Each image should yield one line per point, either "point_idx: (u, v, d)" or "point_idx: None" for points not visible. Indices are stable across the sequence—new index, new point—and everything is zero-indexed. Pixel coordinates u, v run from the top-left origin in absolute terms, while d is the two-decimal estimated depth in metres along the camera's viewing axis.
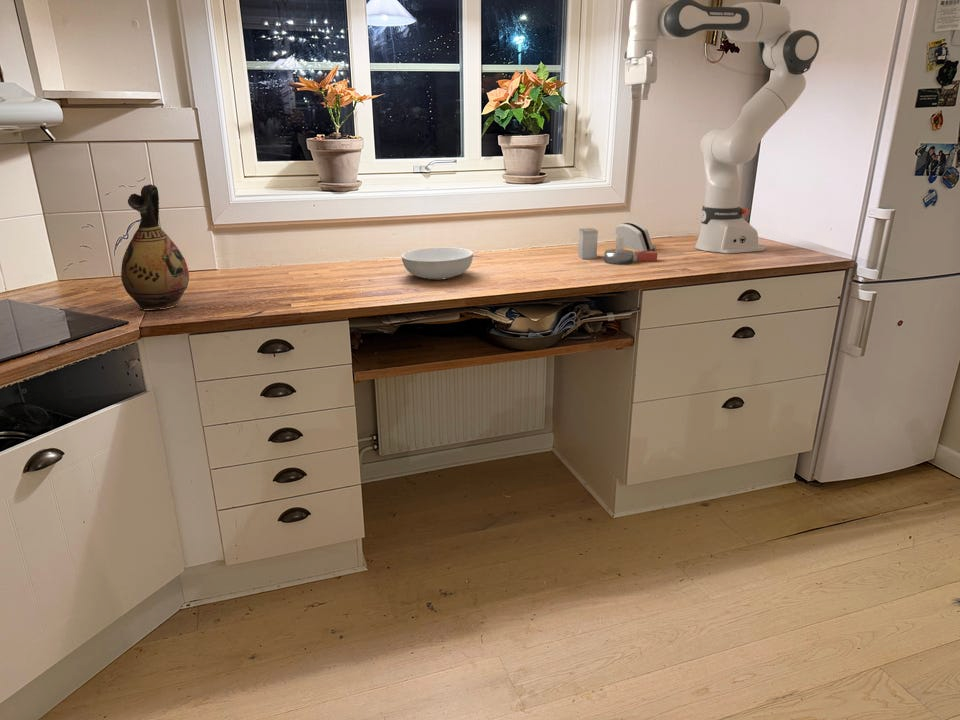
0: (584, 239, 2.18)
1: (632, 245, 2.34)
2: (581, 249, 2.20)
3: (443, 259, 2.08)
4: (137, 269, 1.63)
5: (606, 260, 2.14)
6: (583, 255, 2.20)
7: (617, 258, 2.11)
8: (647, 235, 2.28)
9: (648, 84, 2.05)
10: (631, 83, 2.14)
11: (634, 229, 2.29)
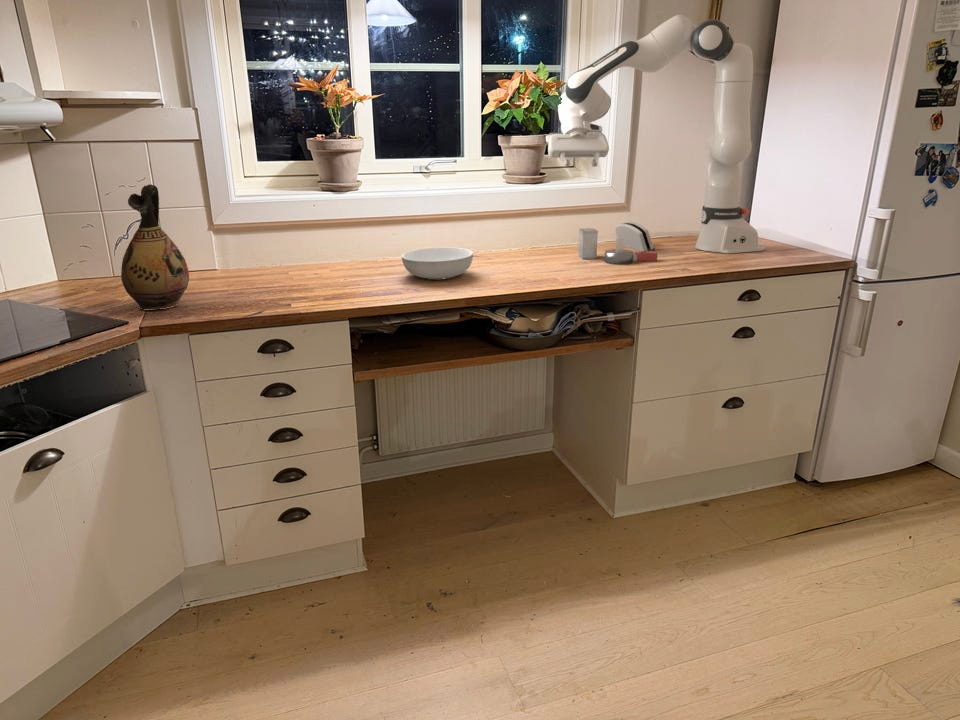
0: (584, 239, 2.18)
1: (632, 245, 2.34)
2: (581, 249, 2.20)
3: (443, 259, 2.08)
4: (137, 269, 1.63)
5: (606, 260, 2.14)
6: (583, 255, 2.20)
7: (617, 258, 2.11)
8: (647, 235, 2.28)
9: (560, 154, 2.25)
10: None
11: (634, 229, 2.29)
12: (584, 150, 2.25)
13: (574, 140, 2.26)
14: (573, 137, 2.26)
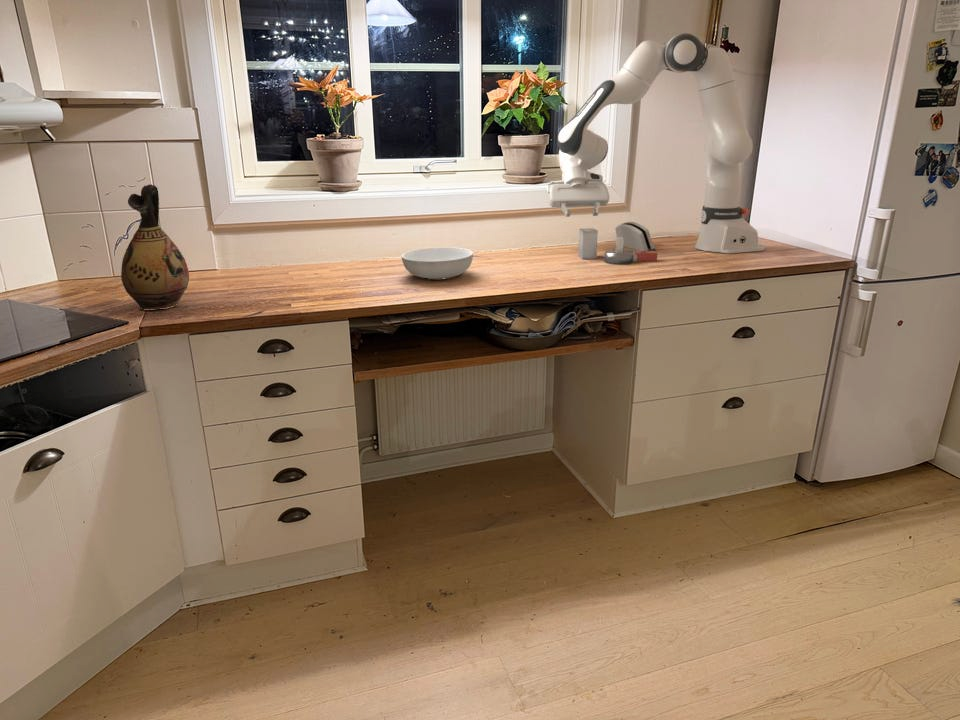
0: (584, 239, 2.18)
1: (633, 245, 2.34)
2: (581, 249, 2.20)
3: (443, 259, 2.08)
4: (137, 269, 1.63)
5: (606, 260, 2.14)
6: (583, 255, 2.20)
7: (617, 258, 2.11)
8: (648, 235, 2.28)
9: (561, 204, 2.27)
10: None
11: (635, 229, 2.29)
12: (585, 200, 2.27)
13: (575, 190, 2.28)
14: (574, 187, 2.29)
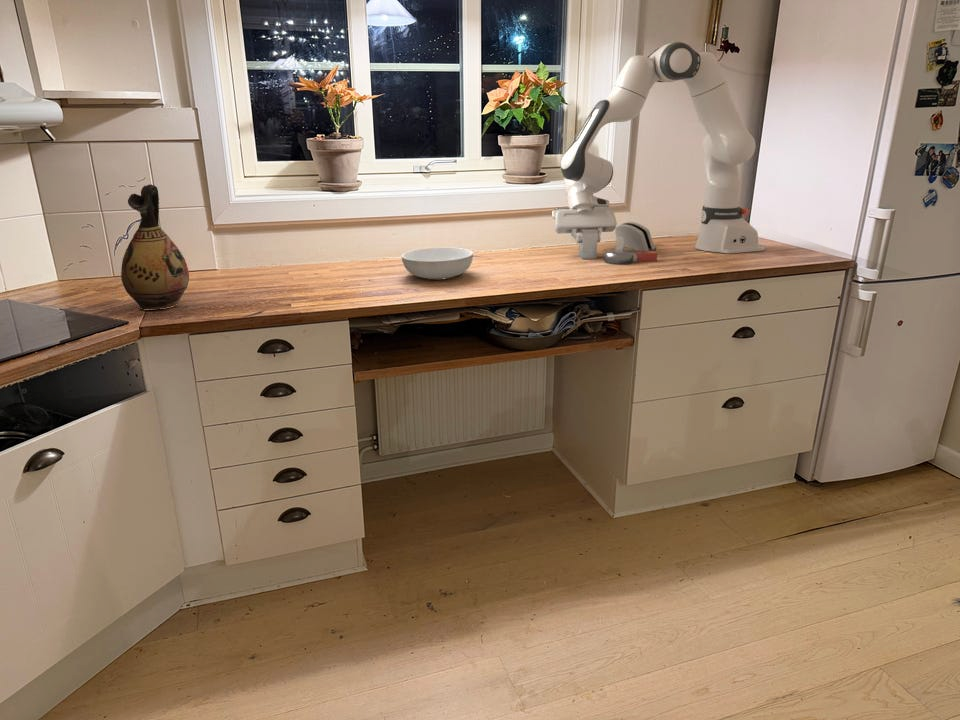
0: (584, 239, 2.18)
1: (633, 245, 2.34)
2: (581, 249, 2.20)
3: (443, 259, 2.08)
4: (137, 269, 1.63)
5: (606, 260, 2.14)
6: (583, 255, 2.20)
7: (617, 258, 2.11)
8: (649, 235, 2.28)
9: (572, 230, 2.21)
10: None
11: (635, 229, 2.28)
12: (591, 226, 2.21)
13: (581, 215, 2.22)
14: (580, 212, 2.23)
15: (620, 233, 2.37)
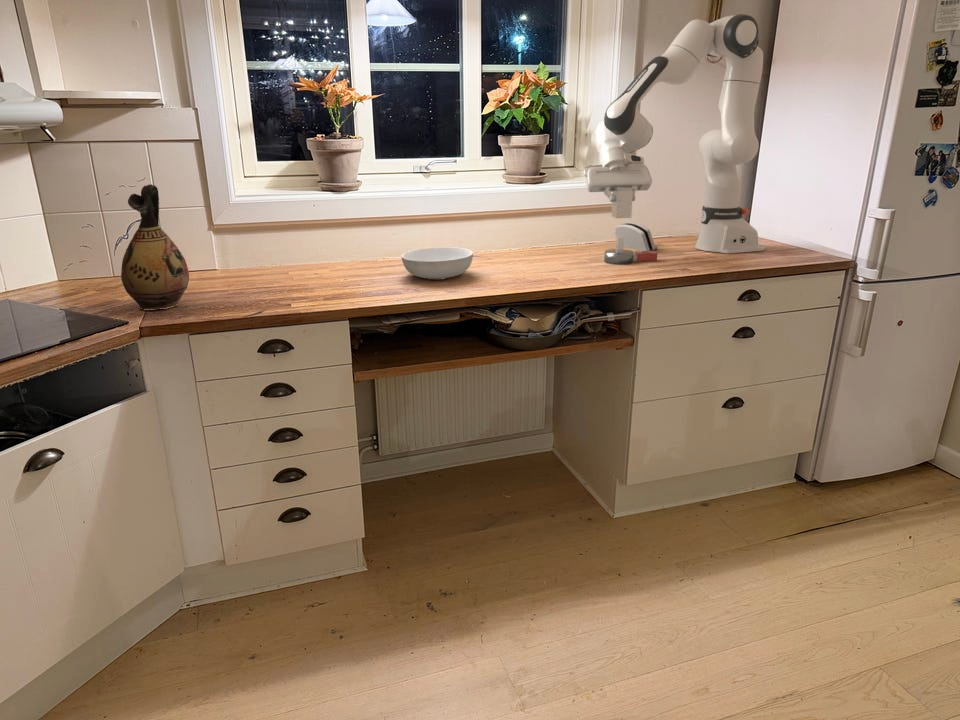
0: (618, 197, 2.06)
1: (633, 246, 2.34)
2: (615, 208, 2.09)
3: (443, 259, 2.08)
4: (137, 269, 1.63)
5: (606, 260, 2.14)
6: (617, 214, 2.08)
7: (617, 258, 2.11)
8: (650, 235, 2.28)
9: (605, 188, 2.10)
10: None
11: (636, 229, 2.28)
12: (625, 184, 2.09)
13: (614, 173, 2.11)
14: (613, 170, 2.11)
15: (620, 233, 2.37)
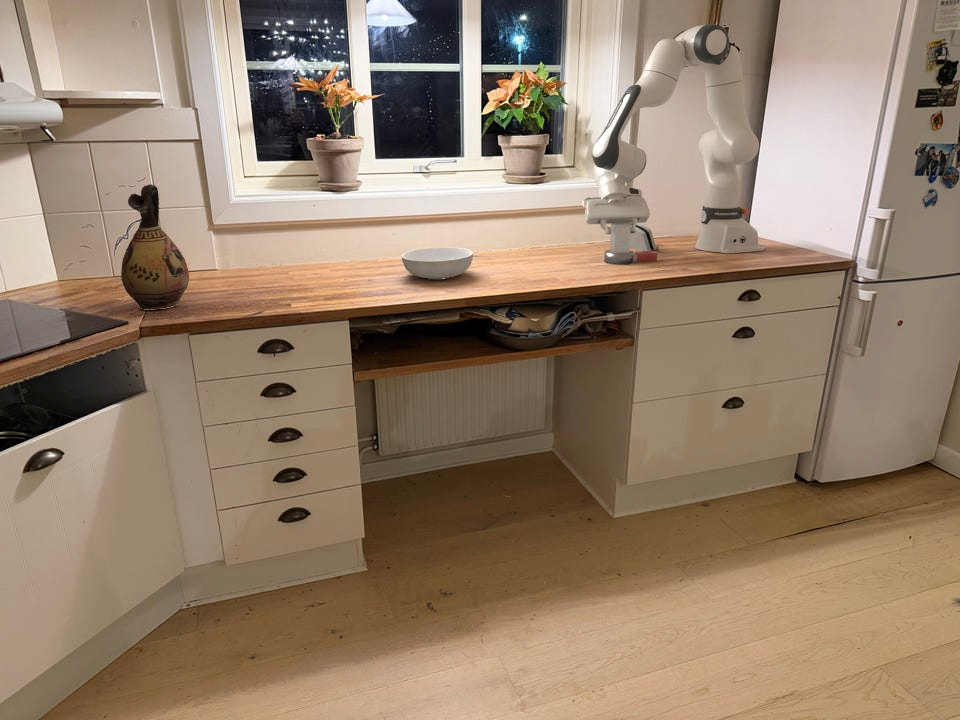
0: (616, 233, 2.10)
1: (634, 246, 2.33)
2: (613, 243, 2.12)
3: (443, 259, 2.08)
4: (137, 269, 1.63)
5: (606, 260, 2.14)
6: (615, 250, 2.12)
7: (617, 258, 2.11)
8: (651, 235, 2.27)
9: (601, 221, 2.13)
10: None
11: (637, 229, 2.28)
12: (623, 216, 2.13)
13: (613, 206, 2.14)
14: (611, 202, 2.15)
15: None
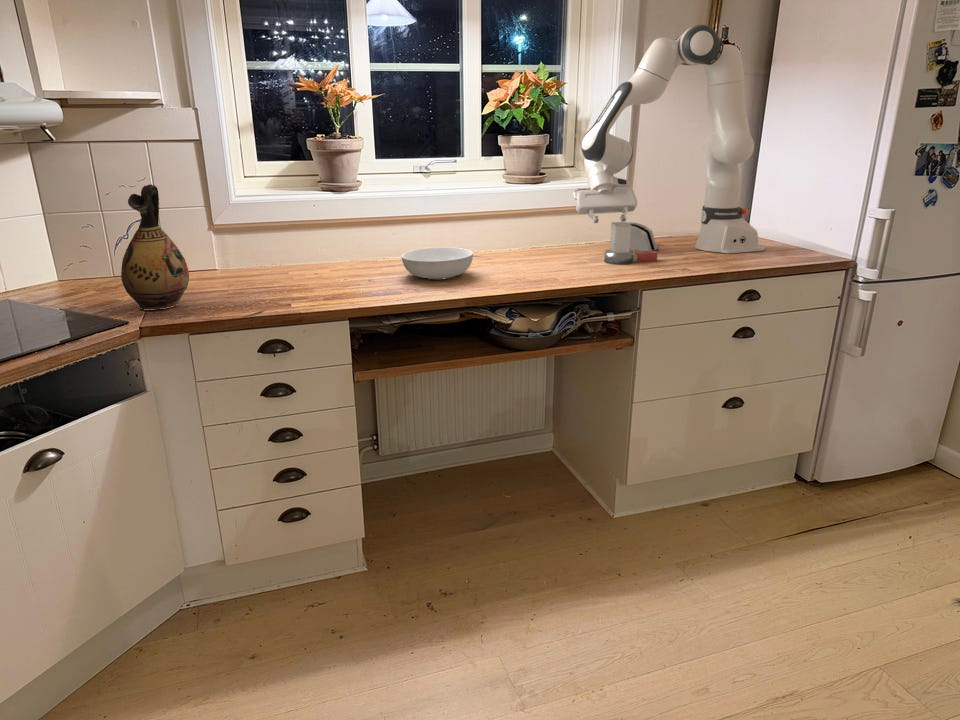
0: (617, 233, 2.10)
1: (635, 246, 2.33)
2: (613, 243, 2.12)
3: (443, 259, 2.08)
4: (137, 269, 1.63)
5: (606, 260, 2.14)
6: (615, 250, 2.12)
7: (617, 258, 2.11)
8: (652, 235, 2.27)
9: (588, 210, 2.25)
10: None
11: (638, 230, 2.28)
12: (612, 206, 2.25)
13: (602, 196, 2.26)
14: (601, 193, 2.26)
15: None
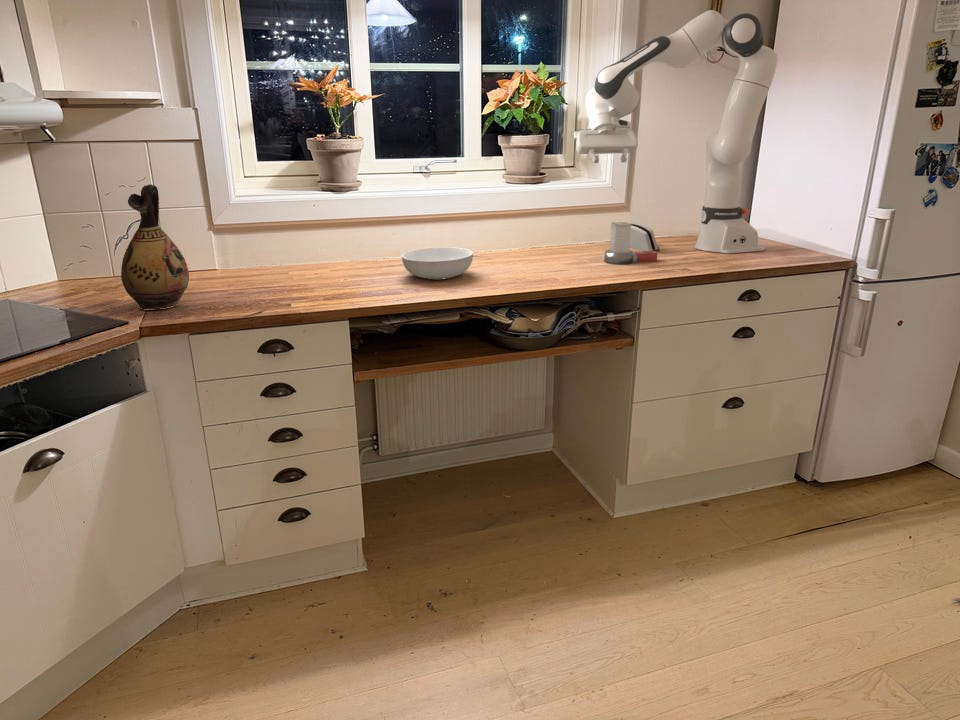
0: (617, 233, 2.10)
1: (635, 246, 2.33)
2: (613, 243, 2.12)
3: (443, 259, 2.08)
4: (137, 269, 1.63)
5: (606, 260, 2.14)
6: (615, 250, 2.12)
7: (617, 258, 2.11)
8: (652, 235, 2.27)
9: (589, 150, 2.23)
10: None
11: (639, 230, 2.27)
12: (613, 146, 2.23)
13: (602, 136, 2.24)
14: (601, 133, 2.24)
15: None
